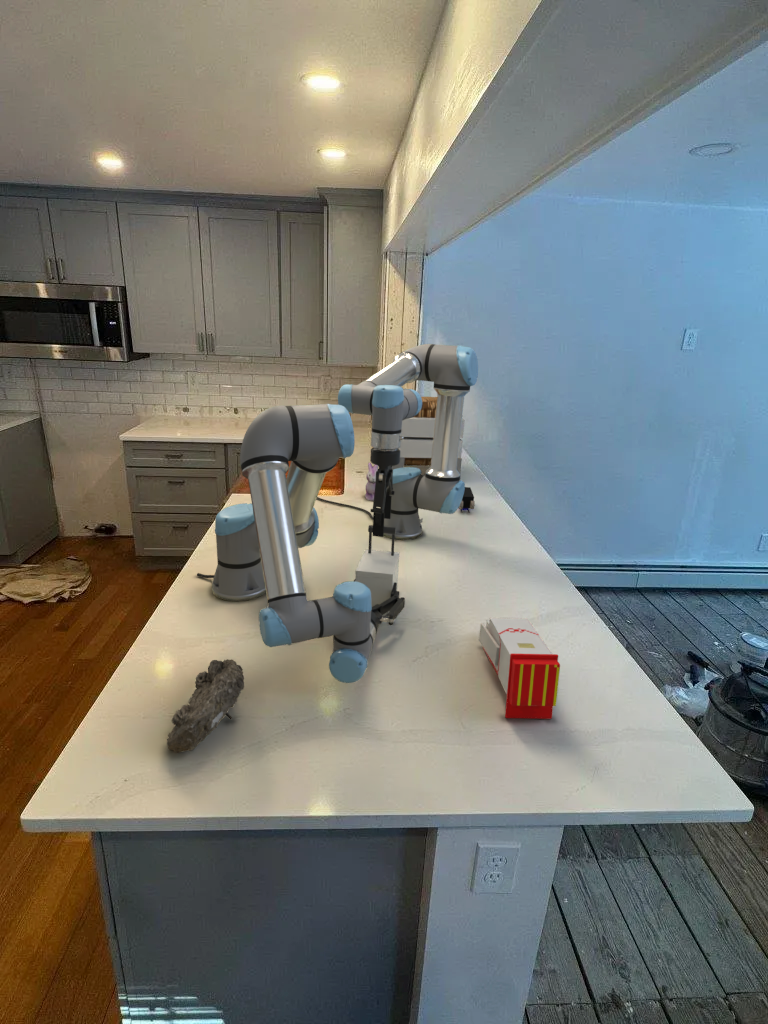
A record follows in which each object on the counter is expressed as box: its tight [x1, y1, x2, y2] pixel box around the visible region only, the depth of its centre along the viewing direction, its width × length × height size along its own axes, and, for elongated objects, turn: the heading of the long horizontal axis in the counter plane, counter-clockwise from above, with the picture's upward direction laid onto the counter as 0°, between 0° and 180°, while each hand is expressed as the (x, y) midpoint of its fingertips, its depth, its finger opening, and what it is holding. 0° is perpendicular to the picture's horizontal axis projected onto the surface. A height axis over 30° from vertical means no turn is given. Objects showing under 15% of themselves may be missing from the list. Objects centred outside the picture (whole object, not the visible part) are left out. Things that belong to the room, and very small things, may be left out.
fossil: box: [166, 658, 245, 754], centre depth 106 cm, size 22×10×15 cm
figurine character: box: [458, 486, 476, 514], centre depth 227 cm, size 7×8×15 cm
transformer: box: [392, 387, 465, 475], centre depth 268 cm, size 34×33×41 cm
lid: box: [354, 524, 401, 579], centre depth 148 cm, size 14×10×9 cm
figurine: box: [364, 461, 379, 501], centre depth 234 cm, size 9×10×15 cm
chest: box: [354, 559, 400, 616], centre depth 151 cm, size 13×10×11 cm
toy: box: [478, 616, 561, 720], centre depth 122 cm, size 12×13×30 cm
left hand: (375, 585), depth 148 cm, fingers closed on chest, 9 cm apart
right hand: (381, 526), depth 150 cm, fingers open, 13 cm apart
